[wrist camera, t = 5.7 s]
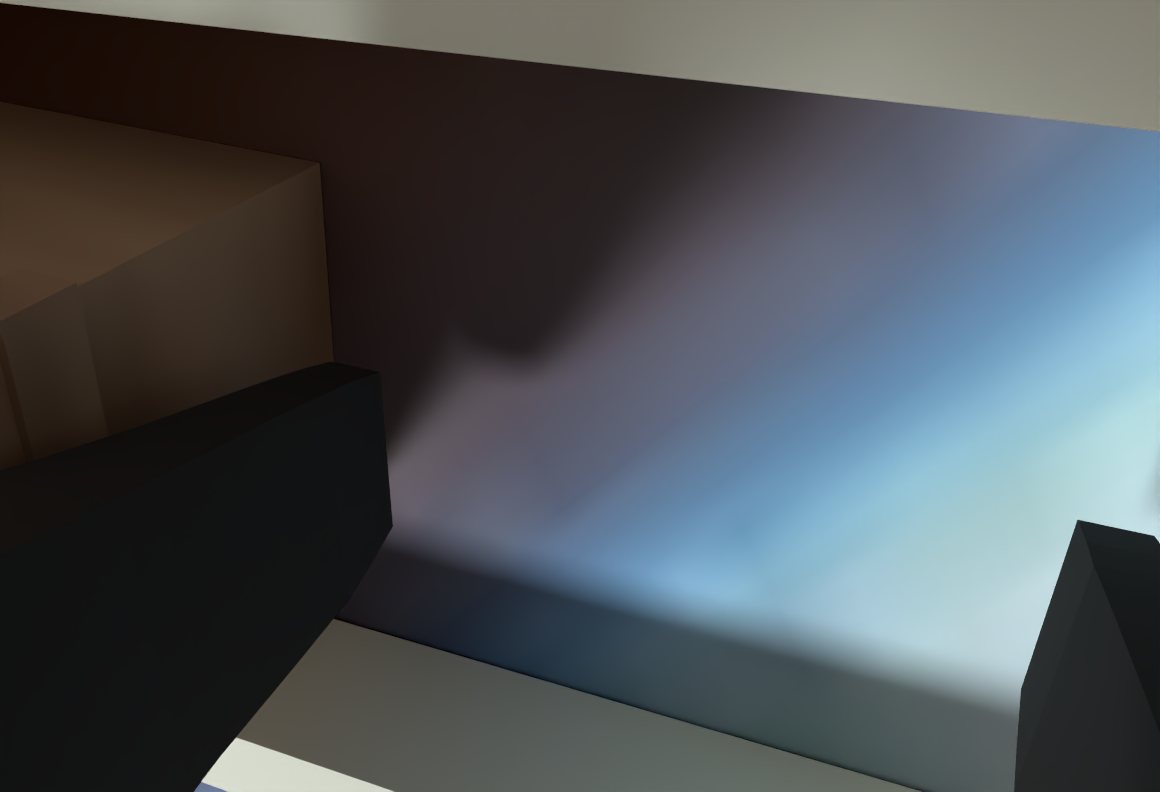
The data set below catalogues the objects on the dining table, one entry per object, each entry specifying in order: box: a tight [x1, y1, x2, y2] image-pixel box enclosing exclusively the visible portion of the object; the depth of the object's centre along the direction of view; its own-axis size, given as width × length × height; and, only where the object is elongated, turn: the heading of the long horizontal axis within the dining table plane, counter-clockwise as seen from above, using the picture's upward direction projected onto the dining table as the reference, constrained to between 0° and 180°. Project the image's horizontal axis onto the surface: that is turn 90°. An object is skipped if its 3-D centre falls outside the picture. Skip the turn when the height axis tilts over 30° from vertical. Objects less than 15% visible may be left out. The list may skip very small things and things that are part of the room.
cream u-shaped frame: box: [0, 0, 1160, 792], centre depth 10 cm, size 11×18×6 cm, turn 88°
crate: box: [0, 102, 334, 470], centre depth 12 cm, size 5×5×5 cm
